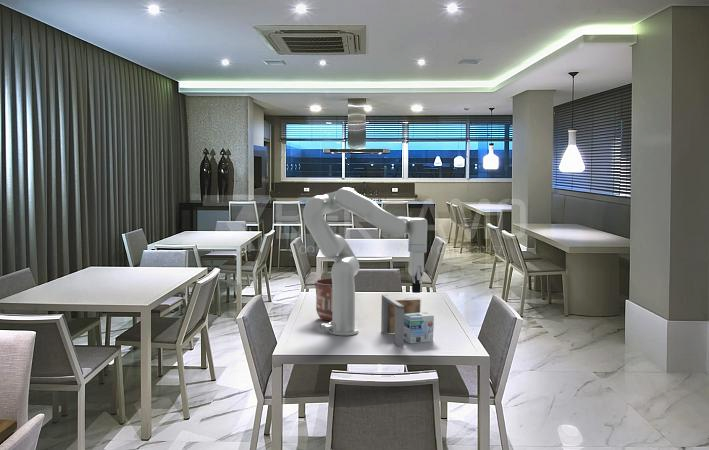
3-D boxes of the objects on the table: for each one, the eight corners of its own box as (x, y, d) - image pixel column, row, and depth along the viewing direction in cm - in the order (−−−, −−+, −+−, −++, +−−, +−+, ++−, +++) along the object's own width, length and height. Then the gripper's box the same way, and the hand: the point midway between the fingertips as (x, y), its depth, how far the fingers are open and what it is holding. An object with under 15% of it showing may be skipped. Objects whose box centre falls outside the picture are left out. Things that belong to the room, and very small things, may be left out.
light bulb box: (410, 343, 243) (410, 317, 242) (402, 339, 249) (403, 313, 248) (434, 341, 247) (434, 315, 246) (426, 337, 253) (426, 311, 252)
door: (387, 333, 257) (388, 300, 256) (387, 332, 258) (387, 300, 257) (419, 332, 259) (420, 299, 258) (418, 331, 260) (419, 299, 259)
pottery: (329, 313, 294) (328, 276, 293) (360, 318, 285) (360, 280, 284) (307, 321, 279) (307, 282, 277) (340, 326, 270) (340, 286, 268)
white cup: (406, 322, 277) (406, 300, 277) (401, 318, 285) (402, 297, 284) (423, 322, 279) (423, 300, 278) (418, 318, 287) (418, 297, 286)
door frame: (398, 346, 238) (399, 306, 237) (381, 331, 261) (381, 294, 260) (403, 346, 239) (404, 306, 238) (385, 331, 262) (386, 294, 260)
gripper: (405, 245, 257) (404, 288, 258) (411, 250, 242) (409, 296, 244) (423, 246, 257) (421, 289, 259) (430, 250, 242) (428, 296, 244)
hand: (416, 292), depth 251 cm, fingers closed
